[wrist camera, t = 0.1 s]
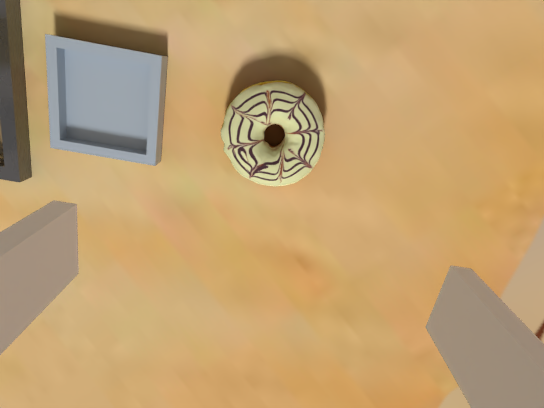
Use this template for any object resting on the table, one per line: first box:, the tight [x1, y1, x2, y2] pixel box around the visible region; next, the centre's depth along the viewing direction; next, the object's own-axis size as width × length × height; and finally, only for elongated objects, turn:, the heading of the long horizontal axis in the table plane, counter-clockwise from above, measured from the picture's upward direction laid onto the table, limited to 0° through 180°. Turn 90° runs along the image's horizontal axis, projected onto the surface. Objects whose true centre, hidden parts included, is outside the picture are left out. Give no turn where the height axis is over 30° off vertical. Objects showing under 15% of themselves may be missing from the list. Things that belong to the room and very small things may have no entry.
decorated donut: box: [221, 80, 325, 186], centre depth 37 cm, size 10×11×4 cm
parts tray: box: [45, 34, 168, 166], centre depth 37 cm, size 11×11×2 cm
